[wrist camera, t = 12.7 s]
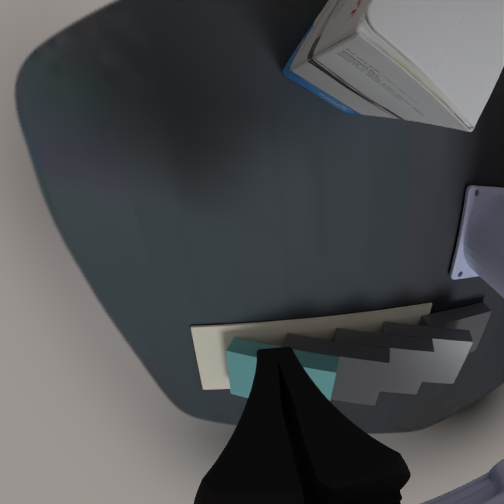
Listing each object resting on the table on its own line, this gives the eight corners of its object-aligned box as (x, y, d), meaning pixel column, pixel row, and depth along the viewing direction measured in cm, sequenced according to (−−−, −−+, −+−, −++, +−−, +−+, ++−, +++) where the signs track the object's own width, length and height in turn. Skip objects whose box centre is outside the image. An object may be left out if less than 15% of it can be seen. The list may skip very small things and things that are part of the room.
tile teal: (234, 337, 24) (339, 357, 22) (237, 380, 26) (330, 400, 24) (225, 350, 23) (336, 372, 20) (230, 393, 25) (326, 414, 22)
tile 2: (286, 333, 24) (389, 348, 22) (285, 376, 26) (376, 391, 24) (281, 346, 23) (389, 363, 20) (279, 389, 25) (374, 405, 23)
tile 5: (421, 315, 25) (482, 302, 25) (407, 357, 27) (467, 341, 28) (430, 326, 23) (491, 310, 24) (414, 368, 26) (475, 350, 26)
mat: (431, 302, 25) (432, 303, 24) (411, 362, 28) (412, 363, 28) (191, 325, 24) (190, 327, 24) (203, 387, 27) (203, 389, 27)
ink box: (347, 117, 18) (477, 144, 7) (277, 73, 17) (347, 29, 6) (405, 20, 15) (538, -14, 4) (343, -25, 14) (445, -109, 3)
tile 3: (336, 327, 24) (432, 338, 22) (329, 371, 27) (415, 381, 24) (333, 340, 23) (434, 352, 21) (326, 384, 25) (416, 394, 23)
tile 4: (383, 321, 25) (469, 330, 22) (372, 364, 27) (451, 371, 24) (383, 333, 23) (473, 341, 21) (371, 376, 25) (453, 383, 23)
